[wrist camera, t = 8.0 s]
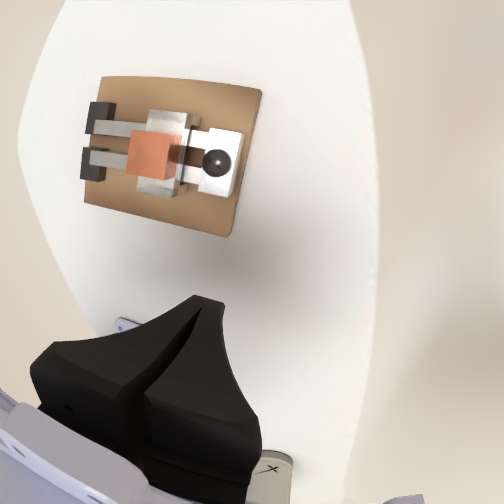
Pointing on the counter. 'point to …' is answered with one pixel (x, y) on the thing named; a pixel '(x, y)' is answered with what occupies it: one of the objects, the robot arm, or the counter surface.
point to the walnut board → (212, 116)
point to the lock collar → (160, 153)
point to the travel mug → (271, 479)
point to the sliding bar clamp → (206, 175)
